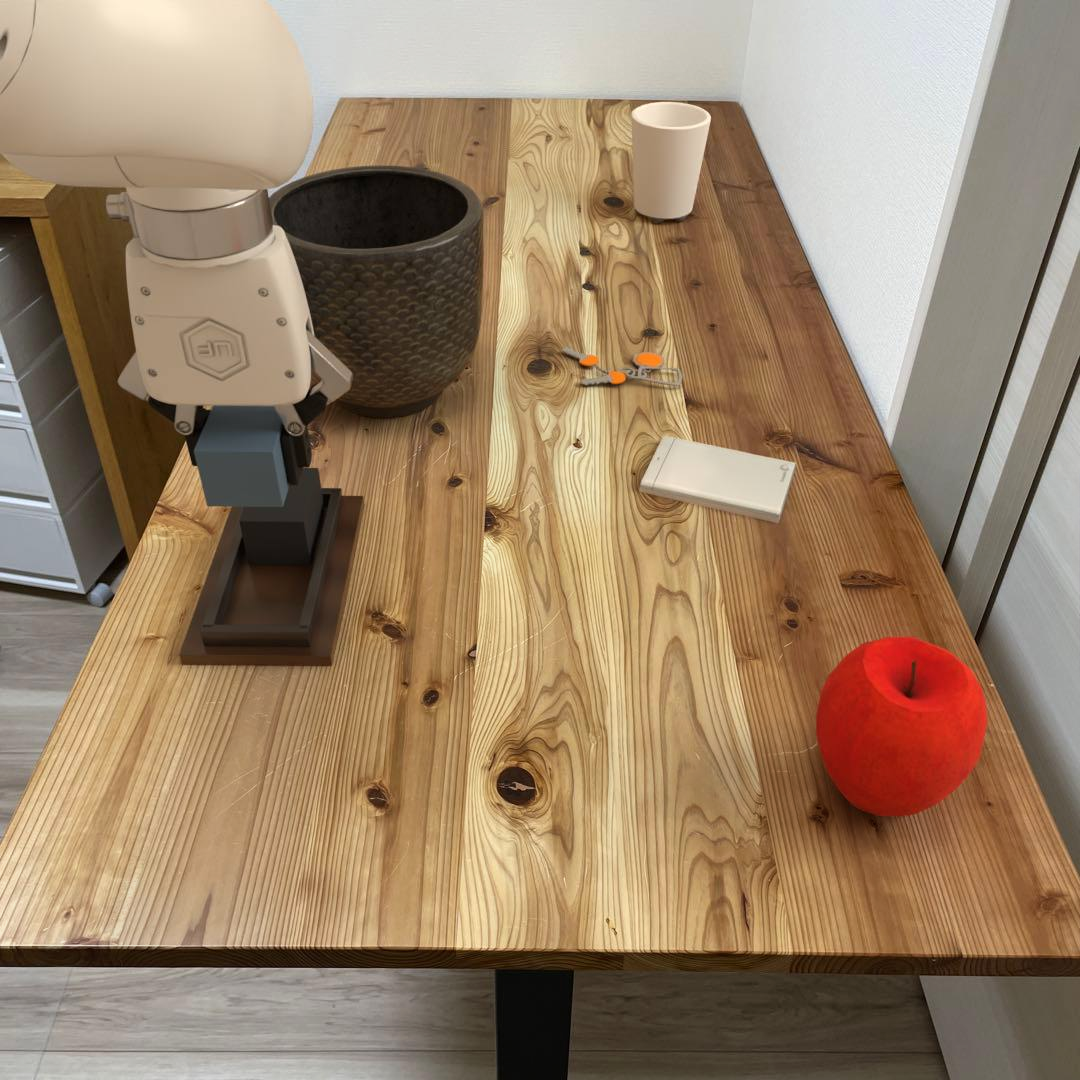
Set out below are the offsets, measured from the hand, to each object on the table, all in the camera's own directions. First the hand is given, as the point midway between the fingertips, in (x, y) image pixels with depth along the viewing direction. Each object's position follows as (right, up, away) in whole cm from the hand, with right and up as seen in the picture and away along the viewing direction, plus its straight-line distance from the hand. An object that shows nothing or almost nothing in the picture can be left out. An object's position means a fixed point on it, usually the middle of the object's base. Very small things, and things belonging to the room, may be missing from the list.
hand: (254, 470), depth 72 cm
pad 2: (-1, -4, +15) cm, 16 cm away
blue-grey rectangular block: (0, 0, 0) cm, 0 cm away
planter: (+4, +10, +34) cm, 36 cm away
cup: (+35, +38, +68) cm, 86 cm away
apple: (+42, -21, -2) cm, 47 cm away
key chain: (+28, +13, +37) cm, 48 cm away
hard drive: (+35, 0, +24) cm, 43 cm away
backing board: (-1, -8, +13) cm, 15 cm away
